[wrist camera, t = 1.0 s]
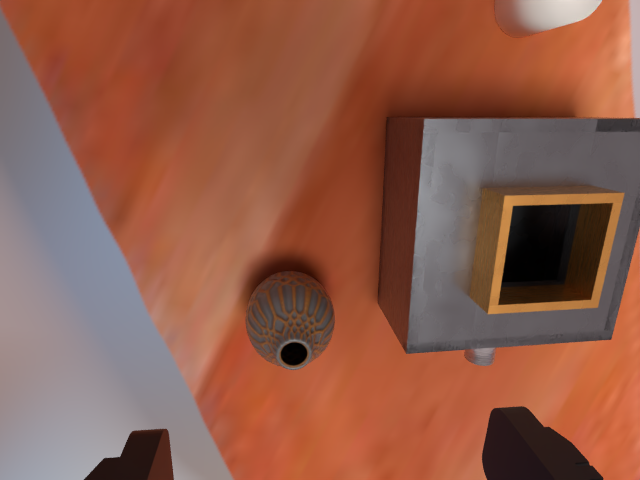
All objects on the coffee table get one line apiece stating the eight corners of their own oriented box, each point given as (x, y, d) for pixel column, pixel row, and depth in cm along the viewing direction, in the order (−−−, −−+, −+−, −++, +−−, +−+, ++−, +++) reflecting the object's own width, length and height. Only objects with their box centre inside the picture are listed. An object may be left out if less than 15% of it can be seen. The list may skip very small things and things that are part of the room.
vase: (237, 320, 35) (227, 385, 27) (263, 249, 33) (260, 295, 25) (311, 340, 36) (323, 408, 28) (339, 274, 35) (360, 324, 27)
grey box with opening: (386, 117, 31) (441, 119, 21) (575, 117, 33) (707, 119, 23) (376, 338, 37) (414, 420, 27) (536, 327, 39) (627, 401, 29)
